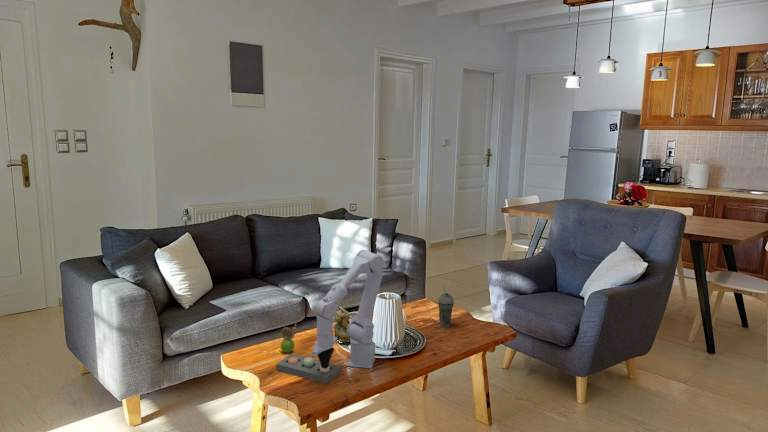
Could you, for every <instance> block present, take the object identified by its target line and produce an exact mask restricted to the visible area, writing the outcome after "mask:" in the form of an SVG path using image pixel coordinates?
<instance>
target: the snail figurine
mask: <svg viewBox="0 0 768 432" xmlns="http://www.w3.org/2000/svg"><path fill="white" fill-rule="evenodd" d="M296 330H297V323H295V324H294V325H293V327H292V329H291V328H290V327H288V326H287V327H283V328H282V329H281V338H282V339H283V340H282V341H281V342H280V348H281V350H282V351H283V352H284V353H291V352H292V351H293V350H294V348H295V342H294V340H292V339H294V337H295V336H296Z"/></svg>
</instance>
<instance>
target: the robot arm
mask: <svg viewBox="0 0 768 432" xmlns="http://www.w3.org/2000/svg"><path fill="white" fill-rule="evenodd" d="M385 263H386V262H385V260H384V258H383V256H382V255H381V254H377V253H374V252H371V251H369V250H366V249H361V250H359V251H358V252H357V254H356V255H355V256H354V257H353V263H352V264H351V266H350V267H349V268H348V270H347V271H346V274H344V276H343V277H342V279H341V281H340V282H339V283H334V285H331V287H330V289H329V290H328V292H327V293H326V295H325V296H324V297H323V298H322V299H320V300H318V301H317V302H316V303H315V305H314V307H313V312H314V314H315V316H316V318H315V319H316V341H315V342H314V345H315V346H314V349H312V350H311V357H314V358H318V359H319V361H320V363H321V367H322V368H328V366H329V363H330V360H331V357H332V355H333V354H334V352H335V348H334V345H335V344H336V343H338V341H337V337H335V336H334V334H333V333H334V316H335V315H336V312H337V311H338V309H339V308H338V306H340V305H339V304H341V302H342V301H343V299H344V298H345V297H346V296H347V294H348V288H350V286H351V285H352V284H353V283H354V282H355V281H356V280H357V278H358V277H359V276H360V275H361V274H366V275H367V278H366V281H365V285H364V288H363V292H362V296H361V298H360V299H361V300H360V302H359V303H360V304H359V307H358V310H357V313H356V315H354V317H353V316H352V318H351V319H350V324H349V325H348V327H347V335H348V336H349V337H350V340H351V341H350V351H349V352H350V354H349V355H350V357H349V361H348V363H347V364H346V365H347V367H354V368H362V369H363V368H364V369H372V368H373V365H374V363H375V361H376V355H375V354H376V343H375V342H374V341H372V340H373V338H374V329H375V325H374V323H373V321H372V316H373V312H374V308H375V304H376V301H377V297H378V293H379V290H380V287H381V284H382V279H383V275H384V267H385Z"/></svg>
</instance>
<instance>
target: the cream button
mask: <svg viewBox="0 0 768 432" xmlns="http://www.w3.org/2000/svg"><path fill="white" fill-rule="evenodd" d="M320 371H321V372H325V373H327V372H329V371H330V366H328V368H322V367H321V366H320Z"/></svg>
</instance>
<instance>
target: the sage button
mask: <svg viewBox="0 0 768 432" xmlns="http://www.w3.org/2000/svg"><path fill="white" fill-rule="evenodd" d="M305 357H306V358H304V367H306V368H309V369H311V368H312V367H313V366H314V358H313V356H311V357H310V356H309V357H307V356H305Z"/></svg>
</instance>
